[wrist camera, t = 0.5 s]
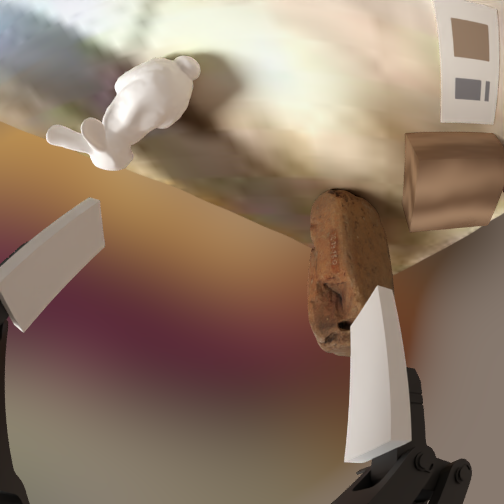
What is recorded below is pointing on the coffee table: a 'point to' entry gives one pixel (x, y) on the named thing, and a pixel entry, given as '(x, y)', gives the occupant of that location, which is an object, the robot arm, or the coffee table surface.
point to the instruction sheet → (467, 61)
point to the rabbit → (133, 111)
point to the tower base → (451, 179)
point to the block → (344, 266)
